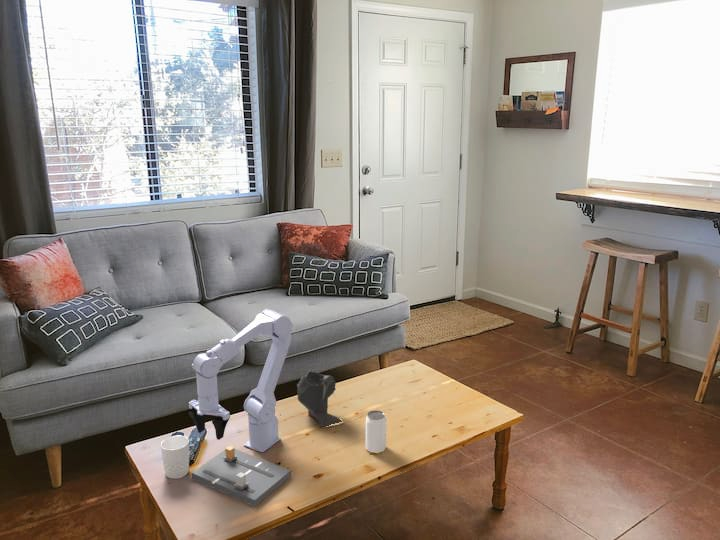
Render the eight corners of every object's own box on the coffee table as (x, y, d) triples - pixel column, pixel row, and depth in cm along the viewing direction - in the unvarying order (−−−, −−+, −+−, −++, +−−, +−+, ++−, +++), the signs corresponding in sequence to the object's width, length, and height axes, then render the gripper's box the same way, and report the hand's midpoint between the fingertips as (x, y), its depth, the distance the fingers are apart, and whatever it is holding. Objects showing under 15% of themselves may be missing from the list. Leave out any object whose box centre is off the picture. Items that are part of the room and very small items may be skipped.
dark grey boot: (331, 403, 217) (330, 358, 212) (345, 423, 203) (345, 375, 199) (293, 410, 212) (292, 364, 207) (305, 431, 198) (304, 382, 194)
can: (387, 444, 191) (388, 411, 188) (383, 455, 185) (383, 421, 182) (368, 441, 192) (368, 408, 189) (363, 452, 186) (363, 418, 183)
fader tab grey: (240, 481, 167) (240, 470, 167) (248, 484, 166) (248, 473, 165) (233, 486, 165) (233, 475, 164) (242, 490, 164) (241, 479, 163)
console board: (229, 452, 186) (229, 446, 185) (290, 476, 174) (290, 470, 173) (190, 479, 172) (190, 473, 172) (253, 507, 160) (253, 500, 160)
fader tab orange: (229, 454, 180) (229, 444, 180) (237, 457, 179) (236, 447, 178) (223, 458, 178) (222, 448, 177) (230, 461, 177) (230, 451, 176)
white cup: (180, 461, 181) (178, 432, 178) (196, 471, 176) (194, 441, 173) (158, 473, 175) (155, 443, 172) (173, 483, 170) (170, 453, 167)
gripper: (179, 393, 174) (183, 434, 178) (216, 405, 167) (219, 447, 171) (197, 383, 180) (200, 423, 183) (233, 395, 173) (236, 436, 176)
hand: (210, 434), depth 177 cm, fingers open, 7 cm apart
